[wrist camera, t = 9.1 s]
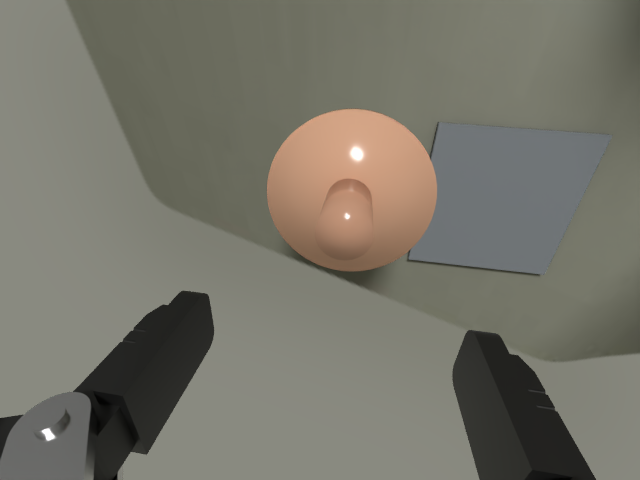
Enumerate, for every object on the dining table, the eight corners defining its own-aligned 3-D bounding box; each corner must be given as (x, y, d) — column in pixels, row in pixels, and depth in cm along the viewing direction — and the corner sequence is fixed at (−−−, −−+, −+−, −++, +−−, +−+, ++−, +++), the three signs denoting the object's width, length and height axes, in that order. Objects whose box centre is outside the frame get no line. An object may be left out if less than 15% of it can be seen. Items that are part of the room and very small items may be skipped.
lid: (452, 113, 17) (490, 127, 12) (416, 271, 23) (431, 329, 17) (268, 103, 19) (229, 112, 13) (273, 256, 24) (247, 306, 18)
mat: (608, 134, 25) (612, 135, 25) (541, 272, 32) (544, 274, 32) (438, 122, 27) (439, 123, 26) (407, 256, 33) (408, 259, 33)
